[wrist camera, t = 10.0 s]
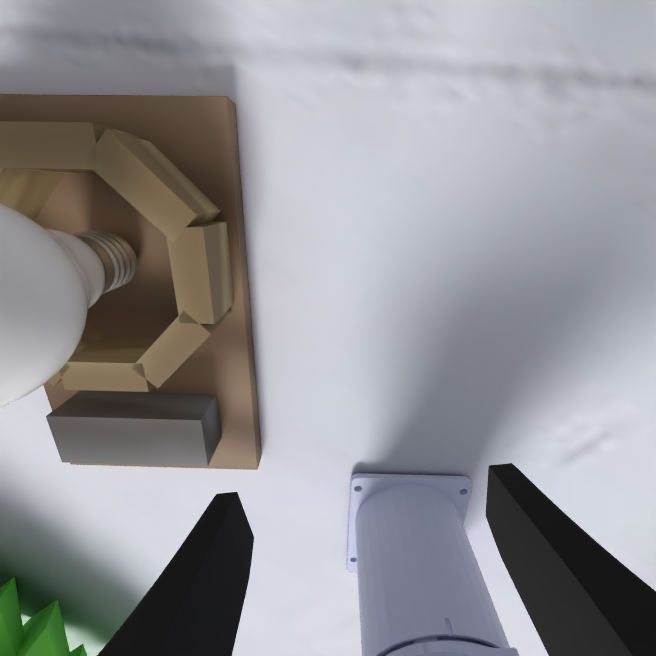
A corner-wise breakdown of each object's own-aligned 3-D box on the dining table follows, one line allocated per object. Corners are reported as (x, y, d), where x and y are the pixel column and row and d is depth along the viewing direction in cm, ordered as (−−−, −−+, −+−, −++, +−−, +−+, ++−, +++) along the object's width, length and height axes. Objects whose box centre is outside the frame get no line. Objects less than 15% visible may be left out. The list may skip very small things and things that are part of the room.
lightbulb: (114, 337, 18) (-175, 520, 8) (23, 231, 16) (-514, 292, 6) (207, 280, 17) (8, 412, 7) (121, 158, 15) (-349, 76, 5)
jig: (261, 456, 22) (245, 511, 19) (83, 451, 23) (30, 504, 19) (234, 103, 15) (199, 71, 11) (-28, 101, 15) (-153, 68, 11)
